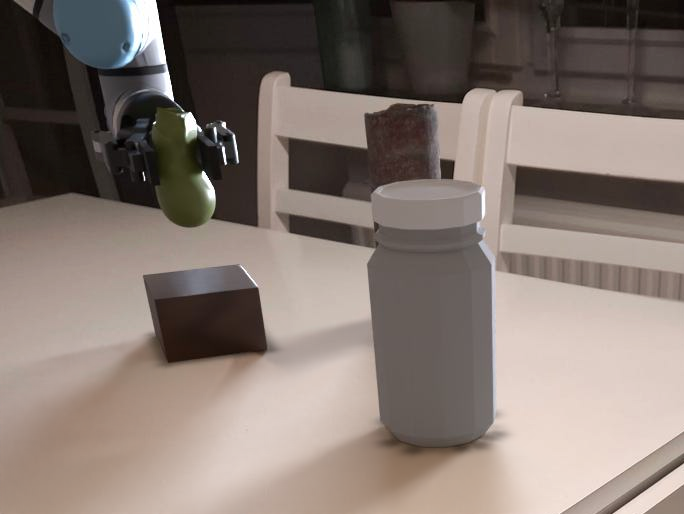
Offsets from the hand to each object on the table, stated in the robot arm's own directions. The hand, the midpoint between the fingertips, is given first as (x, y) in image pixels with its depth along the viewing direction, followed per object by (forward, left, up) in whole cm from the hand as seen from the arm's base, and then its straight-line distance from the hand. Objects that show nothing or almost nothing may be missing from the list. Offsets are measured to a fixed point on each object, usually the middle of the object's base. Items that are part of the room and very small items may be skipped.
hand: (184, 165), depth 90 cm
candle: (+22, +4, -17) cm, 28 cm away
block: (0, +5, -17) cm, 18 cm away
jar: (+14, -27, -17) cm, 35 cm away
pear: (0, +5, -6) cm, 8 cm away
